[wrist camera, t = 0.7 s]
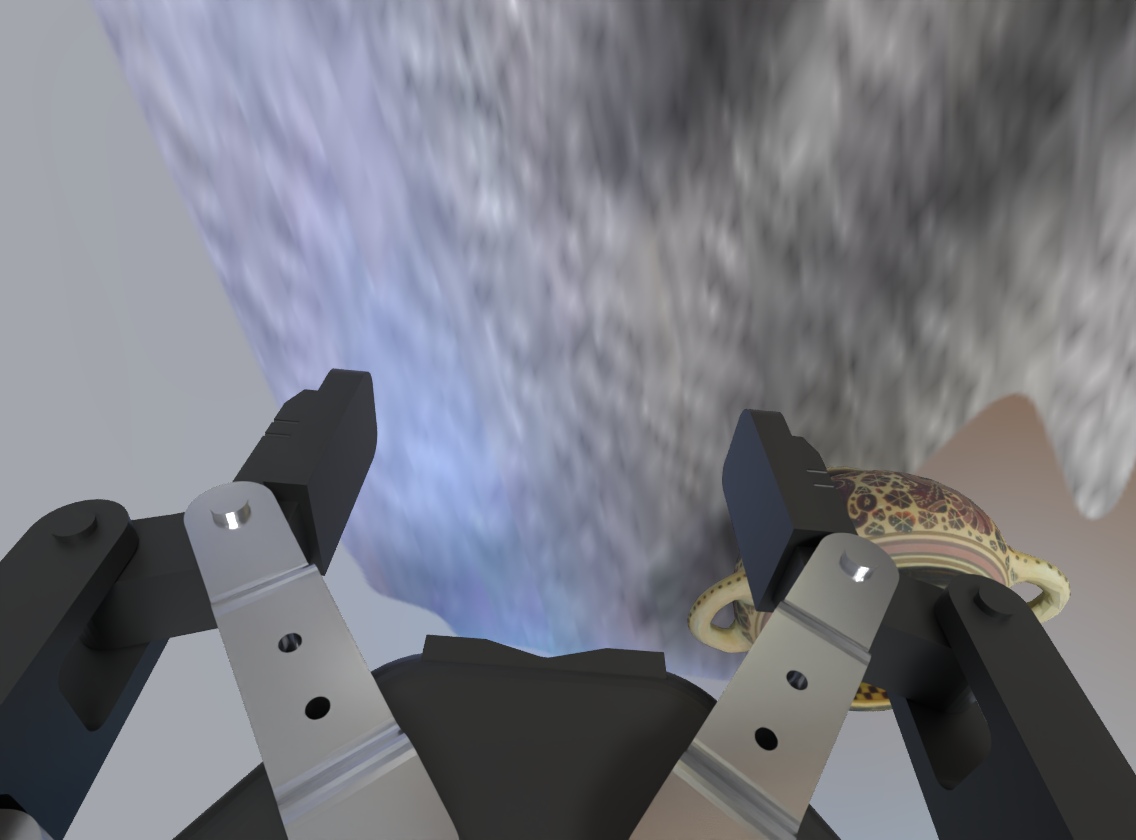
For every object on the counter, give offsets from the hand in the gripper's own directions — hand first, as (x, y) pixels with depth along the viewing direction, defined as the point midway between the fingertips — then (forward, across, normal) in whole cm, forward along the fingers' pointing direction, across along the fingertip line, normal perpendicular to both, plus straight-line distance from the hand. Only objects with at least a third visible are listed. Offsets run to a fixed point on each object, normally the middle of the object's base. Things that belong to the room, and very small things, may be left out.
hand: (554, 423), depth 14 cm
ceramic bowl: (+25, -23, +25) cm, 42 cm away
